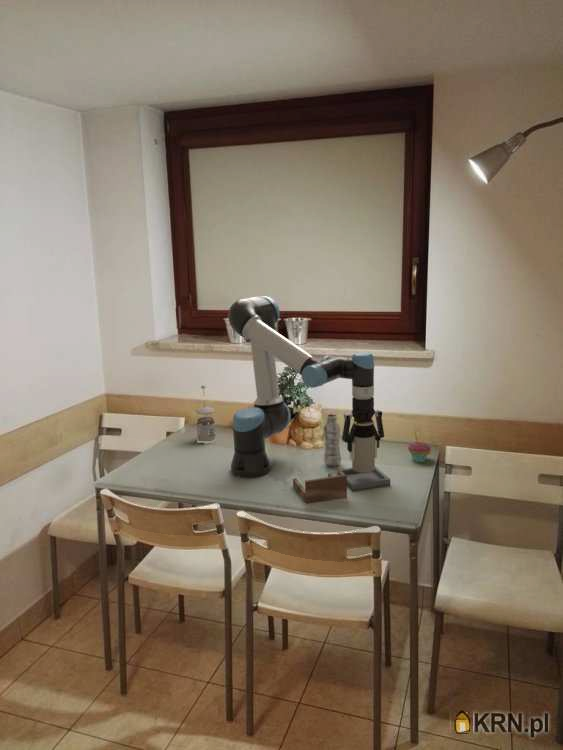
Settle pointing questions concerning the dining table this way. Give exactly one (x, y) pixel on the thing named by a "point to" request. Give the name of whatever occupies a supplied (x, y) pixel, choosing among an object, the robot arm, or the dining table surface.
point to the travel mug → (364, 447)
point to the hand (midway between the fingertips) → (363, 458)
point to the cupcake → (419, 450)
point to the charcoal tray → (364, 479)
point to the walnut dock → (322, 488)
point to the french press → (205, 423)
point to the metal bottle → (332, 441)
